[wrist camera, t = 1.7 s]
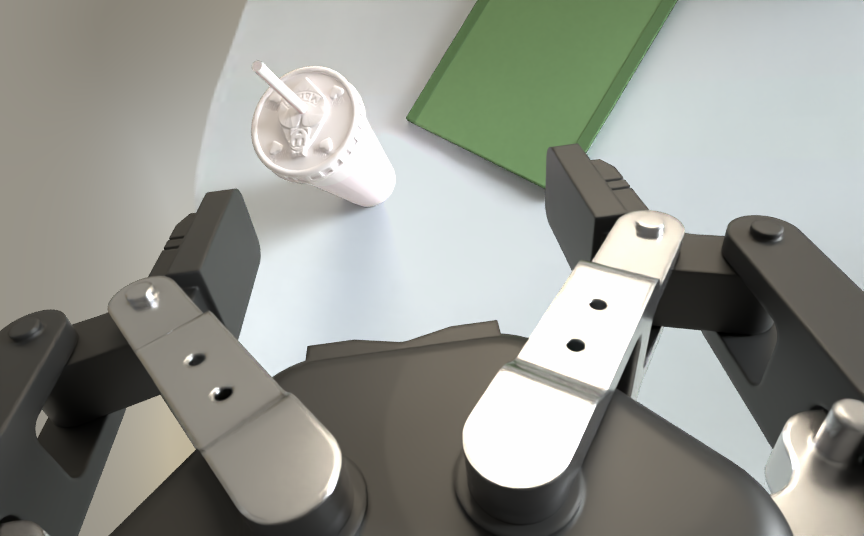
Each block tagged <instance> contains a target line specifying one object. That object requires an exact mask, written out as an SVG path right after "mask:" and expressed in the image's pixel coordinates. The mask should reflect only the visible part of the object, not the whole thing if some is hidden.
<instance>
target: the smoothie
mask: <svg viewBox="0 0 864 536" xmlns="http://www.w3.org/2000/svg"><path fill="white" fill-rule="evenodd" d="M252 70H253V71H254V72H255V73H256V74H257V75H258V76H259V77H261V78H262V79H263V80H264V81H265V82H266V83H267V84H268V85H269V86H270V87H269V88H268V89H267V90H266V92H265V93H264V94H263V96H262V97H261V99H260V101H259V103H258V105H257V107H256V109H255V112H254V115H253V119H252V126H251V136H252V143H253V147H254V150H255V152H256V154H257V156H258V157H259V159H260V160H261V162H262V163H263V164H264V165H265V166H266V167H267V168H269V169H270V170H271V171H272V172H274V173H275V174H276V175H277V176H278V177H280V178H282V179H284V180H287V181H289V182H292V183H302V184H310V185H312V186H315V187H317V188H320V189H322V190H324V191H327V192H329V193H331V194H334V195H336V196H338V197H341V198H343V199H345V200H348V201H350V202H353V203H355V204H357V205H360V206H363V207H372V206H376V205H378V204H380V203H382V202H383V201H385V200H386V199H387V198H388V197H389V196H390V194H391V193H392V191H393V188H394V185H395V173H394V170H393V168H392V166H391V164H390V162H389V160H388V158H387V156H386V155H385V153H384V151H383V149H382V147H381V145H380V143H379V142H378V140H377V138H376V136H375V134H374V132H373V130H372V129H371V127H370V125H369V123H368V121H367V119H366V117H365V108H364V105H363V102H362V99H361V96H360V95H359V93H358V92H357V91H356V89H355V88H354V87H353V85H351V84H350V83H349V82H348V81H347V80H346V78H344V77H343V76H342V75H341V74H339V73H338V72H336V71H334V70H332V69H329V68H326V67H321V66H308V67H302V68H298V69H296V70H293V71H291V72H289V73H287V74H285V75H283V76H282V77H280V78H278V77H277V76H276V75H275V74H274V73H273V72H271V71H270V70H269V69H268V68H267V67H266V66H265V65H264V64H263V63H262V62H261V61H259V60H257V61H255V62H254V63H253V64H252Z"/></svg>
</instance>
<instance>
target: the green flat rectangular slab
mask: <svg viewBox="0 0 864 536" xmlns="http://www.w3.org/2000/svg"><path fill="white" fill-rule="evenodd" d="M677 1H678V0H478V1H477V2H476V4H475V5H474V7H473V9H472V10H471V12H470V14H469V15H468V17H467V19H466V20H465V22H464V24H463V25H462V27H461V28H460V30H459V32H458V33H457V35H456V37H455V38H454V40H453V42H452V43H451V45H450V46H449V48H448V50H447V51H446V53H445V55H444V56H443V58H442V60H441V61H440V63H439V64H438V66H437V68H436V69H435V71H434V73H433V74H432V76H431V78H430V79H429V81H428V83H427V84H426V86H425V87H424V89H423V91H422V92H421V94H420V96H419V97H418V99H417V101H416V102H415V104H414V105H413V107H412V109H411V110H410V112H409V114H408V115H407V117H406V119H407V120H408V121H409V122H411V123H413V124H415V125H417V126H419V127H421V128H423V129H425V130H427V131H429V132H431V133H433V134H435V135H438V136H440V137H442V138H444V139H446V140H448V141H450V142H452V143H454V144H456V145H458V146H460V147H462V148H464V149H466V150H468V151H470V152H472V153H474V154H476V155H478V156H480V157H482V158H484V159H486V160H488V161H490V162H492V163H494V164H496V165H498V166H500V167H502V168H504V169H506V170H508V171H510V172H512V173H514V174H516V175H518V176H520V177H522V178H524V179H526V180H528V181H530V182H532V183H534V184H536V185H538V186H540V187H542V188H544V189H545V185H546V155H547V150H548V148H549V147H554V146H561V145H569V144H576V143H578V144H579V145H580V146H581V148H582V149H583V151H584V152H585V153H586V152H587V151H588V149H589V147H590V146H591V144H592V142H593V141H594V139H595V137H596V136H597V134H598V132H599V131H600V129H601V127H602V126H603V124H604V122H605V121H606V119H607V117H608V116H609V114H610V112H611V111H612V109H613V107H614V106H615V104H616V102H617V101H618V99H619V97H620V96H621V94H622V92H623V91H624V89H625V87H626V86H627V84H628V82H629V81H630V79H631V77H632V76H633V74H634V72H635V71H636V69H637V67H638V66H639V64H640V62H641V61H642V59H643V57H644V56H645V54H646V52H647V51H648V49H649V47H650V46H651V44H652V42H653V41H654V39H655V37H656V36H657V34H658V32H659V31H660V29H661V27H662V26H663V24H664V22H665V21H666V19H667V17H668V16H669V14H670V12H671V11H672V9H673V7H674V6H675V4H676V2H677Z"/></svg>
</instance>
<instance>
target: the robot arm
mask: <svg viewBox="0 0 864 536" xmlns="http://www.w3.org/2000/svg"><path fill="white" fill-rule="evenodd" d="M545 208H546V215H547V219H548V222H549V225H550V227H551V229H552V231H553V233H554V235H555V237H556V239H557V241H558V243H559V245H560V247H561V249H562V251H563V253H564V255H565V257H566V259H567V261H568V264H569V266H570V268H571V270H572V273H571V274H570V276H569V277H568V279H567V280H566V282H565V284H564V285H563V287H562V288H561V290H560V291H559V293H558V294H557V296H556V297H555V299H554V301H553V302H552V304H551V305H550V307H549V308H548V310H547V311H546V313H545V315H544V316H543V318H542V319H541V321H540V322H539V324H538V325H537V327H536V328H535V330H534V332H533V333H532V335H531V336H530V338H526V337H522V336H517V335H510V334H501V333H500V329H499V325H498V322H497V320H494V321H487V322H480V323H472V324H465V325H458V326H451V327H448V328H445V329H442V330H439V331H436V332H433V333H430V334H427V335H424V336H421V337H418V338H415V339H412V340H409V341H405V342H387V341H369V340H348V341H341V342H334V343H326V344H319V345H312V346H307V354H306V361H303V362H300V363H298V364H295V365H293V366H291V367H289V368H287V369H285V370H283V371H281V372H279V373H278V374H276V375H275V376H273V377H271V376H270V375H269V374H268V373H267V371H266V370H265V369H264V368H263V367H262V366H261V365H260V364H259V363H258V362H257V361H256V360H255V358H254V357H253V356H252V355H251V354H250V353H249V352H248V351H247V350H246V349H245V348H244V347H243V345H242V344H241V343H240V342H239V341H238V338H239V335H240V331H241V328H242V324H243V321H244V317H245V313H246V310H247V306H248V303H249V299H250V296H251V292H252V289H253V285H254V282H255V278H256V274H257V271H258V267H259V264H260V258H261V254H260V245H259V241H258V238H257V235H256V232H255V229H254V227H253V224H252V221H251V218H250V216H249V213H248V210H247V207H246V205H245V202H244V199H243V197H242V194H241V193H240V191H239V190H238V189H229V190H222V191H214V192H207V193H206V194H205V196H204V198H203V200H202V202H201V204H200V206H199V208H198V210H197V212H196V213H191V214H189V215H188V216H187V217H186V218H184V219H183V220H182V221H181V222H180V223H178V224H177V225H176V227H175V229H174V230H173V232H172V234H171V236H170V238H169V239H170V240H168V241H167V243H166V245H165V247H164V250H163V251H162V253H161V254H160V256H159V258H158V260H157V262H156V263H155V265H154V267H153V269H152V271H151V273H150V274H149V276H148V277H147V278H143V279H140V280H137V281H135V282H133V283H131V284H129V285H127V286H125V287H124V288H122V289H121V290H120V291H118V292H117V293H116V294H115V295H114V296H113V297H112V299H111V300H110V302H109V304H108V313H106V314H103V315H100V316H97V317H94V318H91V319H88V320H85V321H82V322H79V323H76V324H73V325H72V324H71V323H70V322H69V320H68V319H67V317H66V316H65V314H64V313H62V312H61V311H58V310H43V311H38V312H34V313H32V314H28V315H26V316H24V317H21V318H19V319H18V320H16V321H14V322H12V323H10V324H9V325H8V326H6V327H5V328H3V329H2V330H1V331H0V536H78V534H79V532H80V529H81V526H82V524H83V521H84V519H85V516H86V513H87V510H88V508H89V505H90V503H91V500H92V498H93V495H94V492H95V490H96V487H97V484H98V481H99V479H100V476H101V474H102V471H103V469H104V466H105V463H106V461H107V458H108V455H109V453H110V450H111V447H112V445H113V442H114V440H115V437H116V434H117V431H118V429H119V426H120V424H121V421H122V419H123V416H124V413H125V410H126V408H127V407H129V406H132V405H134V404H137V403H139V402H142V401H145V400H147V399H150V398H152V397H155V396H158V395H161V396H162V398H163V399H164V401H165V402H166V404H167V405H168V407H169V409H170V410H171V412H172V413H173V415H174V416H175V418H176V419H177V421H178V422H179V424H180V425H181V427H182V428H183V430H184V432H185V433H186V435H187V436H188V438H189V439H190V441H191V442H192V444H193V446H194V447H195V448H196V450H195V451H194V452H193V453H192V454H191V455H190V456H189V457H188V458H187V459H186V460H185V461H184V462H183V463H182V464H181V465H180V466H179V467H178V468H177V469H176V470H175V471H174V472H173V473H172V474H171V475H170V476H169V477H168V478H167V479H166V480H165V481H164V482H163V483H162V484H161V485H160V486H159V487H158V488H157V489H156V490H155V491H154V492H153V493H152V494H151V495H149V497H147V499H145V501H143V502H142V503H141V504H140V505H139V506H138V507H137V508H136V510H134V512H132V513H131V514H130V515H129V516H128V517H127V518H126V519H125V520H124V521H123V522H122V523H121V524H120V525H119V526H118V527H117V528H116V529H115V530H114V531H113V532H112V533H111V534H110V535H109V536H864V292H863V291H862V290H861V289H860V288H859V287H858V286H857V285H856V284H855V283H854V282H853V281H852V280H851V279H850V278H849V277H848V276H847V275H846V274H845V273H844V272H843V271H842V270H841V269H840V268H838V267H837V266H836V265H835V264H834V263H833V262H832V261H831V260H830V259H829V258H828V257H827V256H826V255H825V254H824V253H823V252H822V251H821V250H820V249H819V248H818V247H817V246H816V245H815V244H814V243H813V242H812V241H811V240H809V239H808V238H807V237H806V236H805V235H804V234H803V233H802V232H801V231H800V230H799V229H798V228H797V227H795V226H794V225H792V224H790V223H788V222H786V221H783V220H780V219H777V218H773V217H768V216H760V215H751V216H743V217H739V218H736V219H734V220H733V221H731V222H730V223H729V224H728V227H727V230H726V234H725V236H713V235H696V234H688V233H685V229H684V226H683V224H682V223H681V222H680V221H679V220H678V219H676V218H675V217H673V216H671V215H669V214H666V213H662V212H658V211H651V210H649V209H648V208H647V207H646V206H645V204H644V203H643V202H642V201H641V199H640V198H639V197H638V195H637V194H636V193H635V192H634V190H633V189H632V188H630V185H629V184H628V183H627V182H626V180H623V177H622V175H621V174H620V173H619V172H618V170H617V169H616V168H615V167H614V166H612V165H610V164H608V163H606V162H604V161H602V160H600V159H597V160H590V159H589V157H588V156H587V155H586V153H585V152H584V151H583V149H582V148H581V146H580V145H579V144H578V143H576V144H569V145H561V146H554V147H549V148H548V150H547V155H546V185H545ZM664 327H673V328H683V329H693V330H701V331H702V333H703V335H704V337H705V338H706V340H707V342H708V343H709V345H710V347H711V348H712V350H713V352H714V353H715V355H716V357H717V358H718V360H719V361H720V363H721V365H722V366H723V368H724V370H725V371H726V373H727V375H728V376H729V378H730V380H731V381H732V383H733V385H734V386H735V388H736V390H737V391H738V393H739V394H740V396H741V398H742V399H743V401H744V403H745V404H746V406H747V408H748V409H749V411H750V413H751V414H752V416H753V418H754V419H755V421H756V422H757V424H758V426H759V427H760V429H761V431H762V432H763V434H764V436H765V437H766V439H767V441H768V442H769V444H770V446H771V447H772V449H773V450H772V452H771V454H770V456H769V459H768V461H767V463H766V466H765V477H766V481H767V484H768V486H769V489H770V492H771V494H770V495H769V493H768V492H767V491H766V490H765V489H764V488H763V487H762V486H761V485H760V484H759V483H758V482H757V481H756V480H755V479H754V478H753V477H752V476H751V475H749V474H748V473H747V472H746V471H745V470H743V469H742V468H740V467H739V466H738V465H736V464H735V463H733V462H732V461H730V460H729V459H727V458H726V457H724V456H722V455H721V454H719V453H718V452H716V451H715V450H713V449H711V448H710V447H708V446H707V445H705V444H703V443H702V442H700V441H699V440H697V439H695V438H694V437H692V436H691V435H689V434H688V433H686V432H684V431H683V430H681V429H680V428H678V427H676V426H675V425H673V424H672V423H670V422H669V421H667V420H665V419H664V418H662V417H661V416H659V415H657V414H656V413H654V412H653V411H651V410H650V409H648V408H646V407H645V406H643V405H642V404H640V403H638V402H637V401H636V400H637V397H638V393H639V390H640V387H641V384H642V381H643V379H644V376H645V374H646V371H647V369H648V366H649V364H650V361H651V359H652V356H653V354H654V351H655V349H656V346H657V344H658V342H659V339H660V337H661V334H662V332H663V328H664ZM41 410H43V411H44V412H45V414H46V415H47V416H48V419H47V421H46V423H45V425H44V427H43V429H42V431H41V433H40V435H39V437H38V438H37V437H36V431H35V425H36V420H37V418H38V415H39V414H40V412H41Z"/></svg>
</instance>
